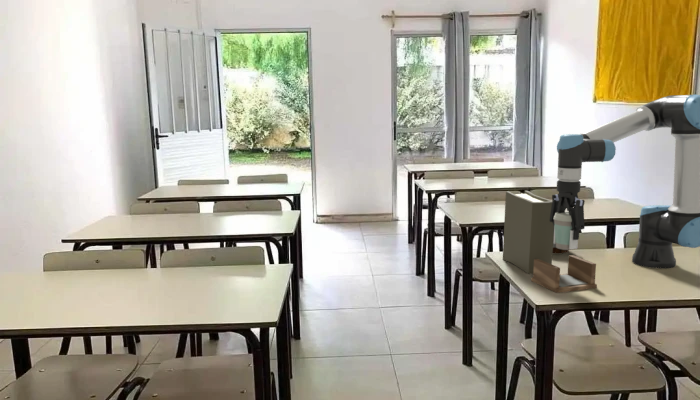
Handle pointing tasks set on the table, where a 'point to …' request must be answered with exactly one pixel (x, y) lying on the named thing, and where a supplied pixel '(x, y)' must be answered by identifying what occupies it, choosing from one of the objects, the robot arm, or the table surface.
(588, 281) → the holder
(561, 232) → the coffee cup
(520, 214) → the book
